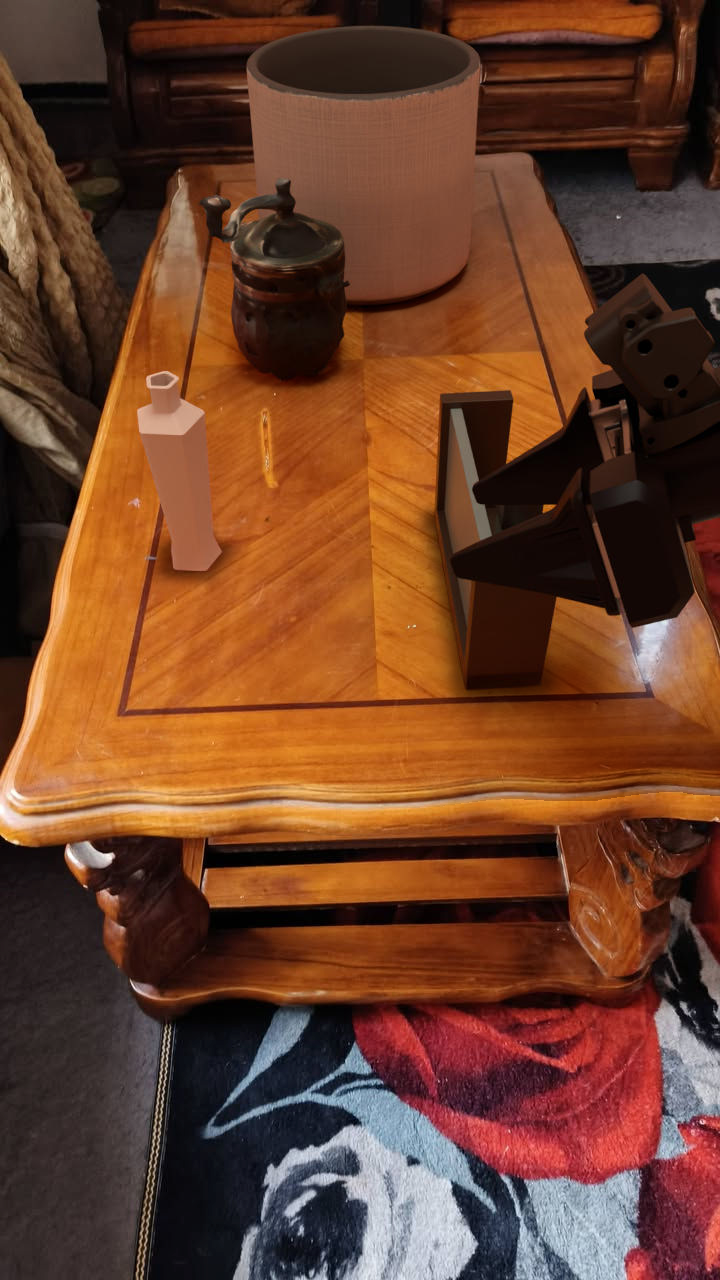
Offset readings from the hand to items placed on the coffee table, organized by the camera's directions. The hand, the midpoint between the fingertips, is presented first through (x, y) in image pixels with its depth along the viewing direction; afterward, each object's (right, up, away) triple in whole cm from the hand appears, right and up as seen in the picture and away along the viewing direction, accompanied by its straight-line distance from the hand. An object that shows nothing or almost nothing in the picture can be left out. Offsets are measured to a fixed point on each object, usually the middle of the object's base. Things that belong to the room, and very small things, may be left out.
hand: (464, 527), depth 48 cm
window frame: (+4, -2, +21) cm, 21 cm away
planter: (-5, +36, +57) cm, 67 cm away
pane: (+5, -4, +17) cm, 18 cm away
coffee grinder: (-12, +20, +42) cm, 48 cm away
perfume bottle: (-18, +1, +24) cm, 30 cm away
